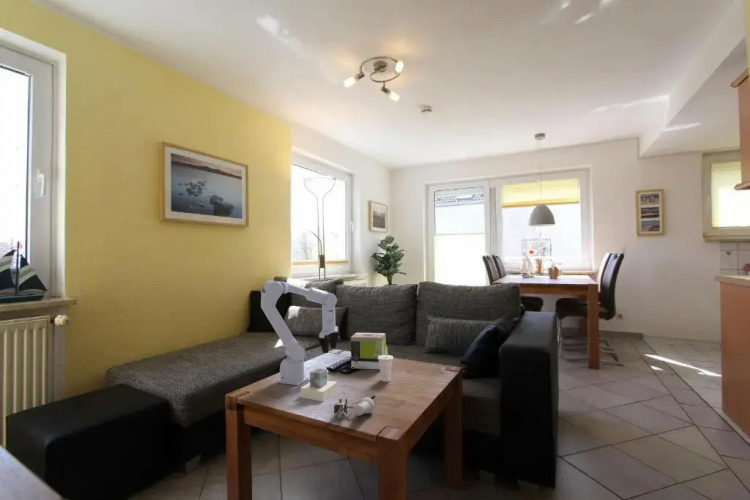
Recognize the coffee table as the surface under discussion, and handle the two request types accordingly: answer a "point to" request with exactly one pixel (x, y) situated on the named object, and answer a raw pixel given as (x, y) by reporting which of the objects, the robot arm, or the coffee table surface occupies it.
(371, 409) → the clip-on lamp
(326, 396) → the base box
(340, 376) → the coffee table surface
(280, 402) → the coffee table surface
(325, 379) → the block
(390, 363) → the smoothie
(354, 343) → the tea box
